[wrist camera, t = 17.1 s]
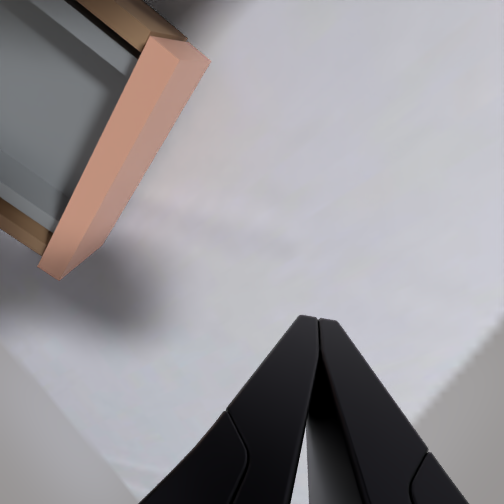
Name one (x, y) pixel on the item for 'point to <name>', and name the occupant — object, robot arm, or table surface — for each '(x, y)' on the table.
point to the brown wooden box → (137, 34)
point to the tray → (82, 119)
